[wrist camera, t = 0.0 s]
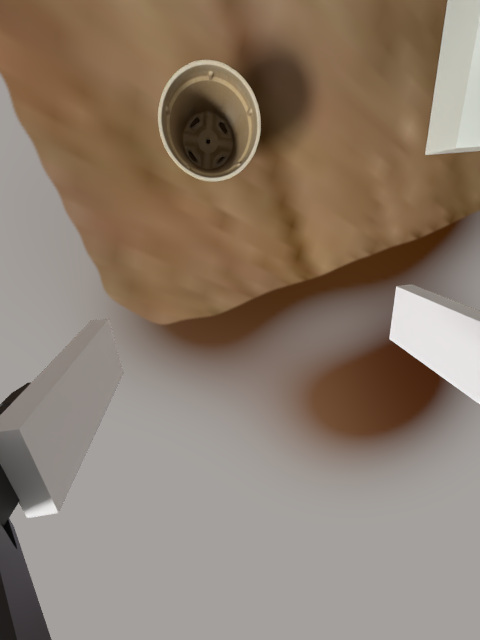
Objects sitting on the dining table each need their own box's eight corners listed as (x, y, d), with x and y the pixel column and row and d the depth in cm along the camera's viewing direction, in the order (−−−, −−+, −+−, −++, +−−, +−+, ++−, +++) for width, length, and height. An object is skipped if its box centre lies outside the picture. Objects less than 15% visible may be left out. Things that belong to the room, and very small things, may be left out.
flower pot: (261, 124, 34) (279, 100, 26) (226, 200, 37) (233, 199, 29) (188, 75, 32) (183, 33, 24) (156, 161, 35) (142, 148, 27)
